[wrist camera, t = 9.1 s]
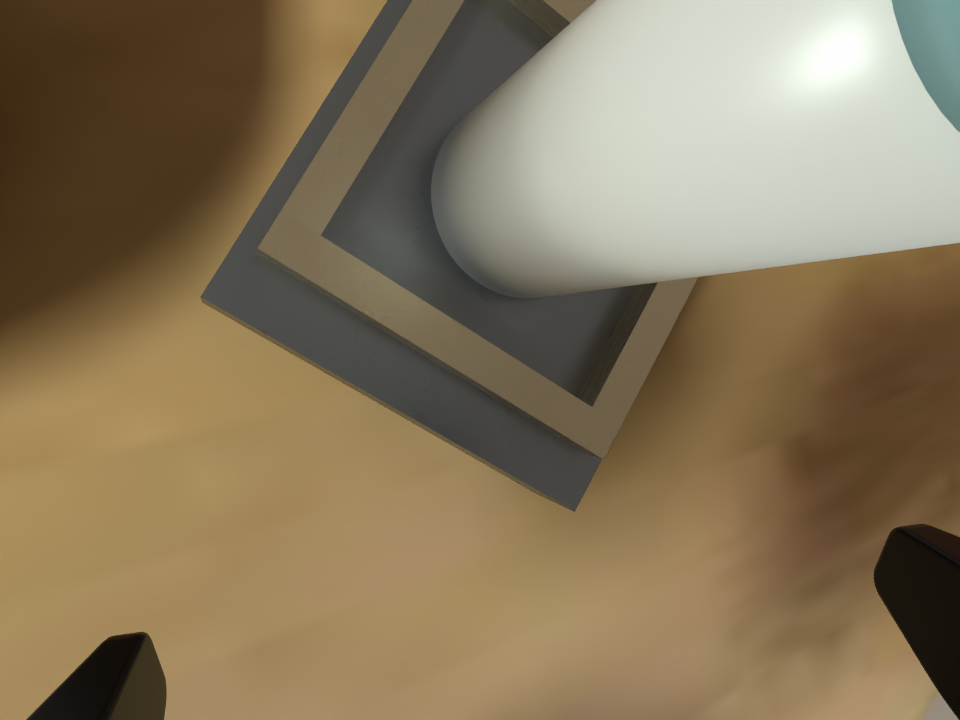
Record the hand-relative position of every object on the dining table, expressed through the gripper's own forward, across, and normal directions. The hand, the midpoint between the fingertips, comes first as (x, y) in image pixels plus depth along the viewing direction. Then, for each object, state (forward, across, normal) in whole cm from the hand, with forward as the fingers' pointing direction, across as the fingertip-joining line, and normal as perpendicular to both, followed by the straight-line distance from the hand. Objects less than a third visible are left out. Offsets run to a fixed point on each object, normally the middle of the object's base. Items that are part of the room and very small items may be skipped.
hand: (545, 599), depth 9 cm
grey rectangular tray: (+15, +2, -1) cm, 15 cm away
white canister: (+13, +3, 0) cm, 13 cm away
